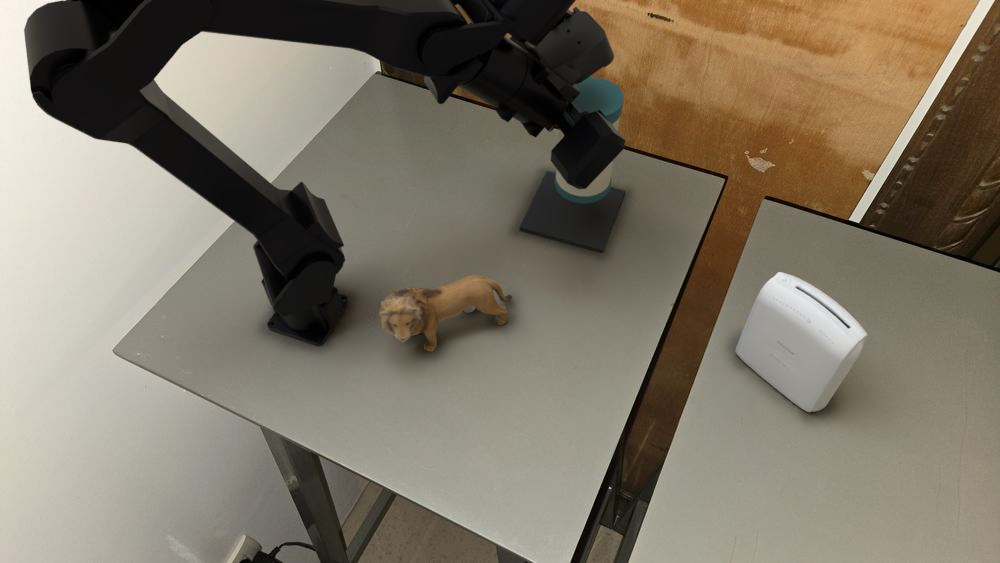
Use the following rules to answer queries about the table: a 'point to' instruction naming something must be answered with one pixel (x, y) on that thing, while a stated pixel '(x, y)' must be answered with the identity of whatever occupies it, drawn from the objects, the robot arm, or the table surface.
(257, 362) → the table surface
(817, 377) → the photo printer
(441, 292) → the lion figurine
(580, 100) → the cylinder
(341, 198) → the table surface
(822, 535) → the table surface
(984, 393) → the table surface
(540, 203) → the mat
